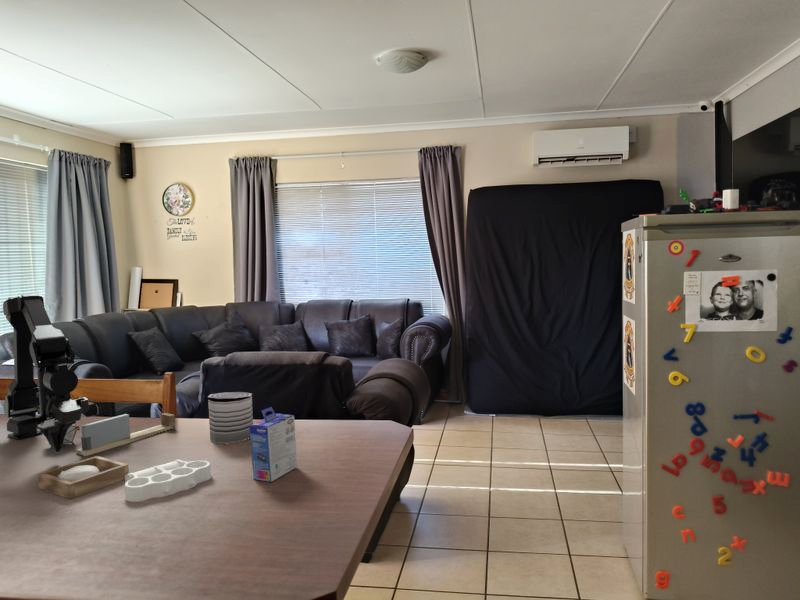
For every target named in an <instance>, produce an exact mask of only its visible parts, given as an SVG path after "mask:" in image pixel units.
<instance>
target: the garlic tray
mask: <svg viewBox="0 0 800 600" xmlns="http://www.w3.org/2000/svg"><path fill="white" fill-rule="evenodd" d="M84 465H90V466H95V467H97V468H98V469H99V473H97V474H94V475H91V476H88V477H85V478H82V479H79V480H76V481H73V482H69V481H66V480H63V479H60V478H58V475H60V473H61V472H62V471H66V470H68V469H71V468H73V467H76V466H84ZM129 468H130V467H129V464H128V463H125V462H122V461H121V462H120V461H117V460H114V459H110V458H107V457H103V456H99V455H95V456H92V457H91V456H90V457H89V458H86V459H82V460H79V461H76V462H73V463H70V464H65V465H64V466H60V467H57V468H53V469H50V470H48V471H44V472H41V473H39V474H37V478H38V479H37V481H38V488H39V489H41V490H44V491H47V492H49V493H52V494H54V493H55V495H58V496H60V497H63V498H66V499H69V500H72V499H74V498H77V497H80V496H82V495H86V494H88V493H91V492H93V491H96V490H99V489H102V488H105V487H107V486H110V485H113V484H117V483H119V482H121V481H123V480H124V481H125V475H127V474H128V473H130V471H129V470H130V469H129Z"/></svg>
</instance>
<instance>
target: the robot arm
mask: <svg viewBox="0 0 800 600" xmlns="http://www.w3.org/2000/svg"><path fill="white" fill-rule="evenodd" d="M2 310H3V314H4V316H5V318H6V319H5V320H7V322H8V323H9V324H10V325H11V327H12V328H13V329H12V330H13V364H14V365H13V372H14V374H13V375H14V378H13V380H12V381H11V383H10V384H9V385H8V387H7V395H5V398H4V403H3V413H4V416H5V417H6V418H8V421H7V423H6V430H7V432H9V433H8V434H7V437H9V438H12V439H16V440H22V439H26V438H29V437H34V436H37V435H41V434H42V435H44V437H45V439H46V440H47V442H48V443H49V445H50V448H51V447H52V449H51V450H53V452H54V453H59V452H61V449H62V446H63V445H64V444H63V441H64V438H65V435H66V432H67V430H68V428H69V427H70V426H71V425H72V424H75V425H76V423H77V421H81V420H82V419H81V418H82V415H83V416H85V417H86V418H90V417H93V416H97V415H98V416H99V414H100V413H99V406H98V405H97V404H96V403H94V402H90V401H89V399H88V398H87V397H86V396H83V397H79V398H77V399H73V397H72V396H71V395H72V394H71V393H73V391H74V390H75V389H76V388H77V386H78V384H79V378H78V375H77V374H76V372H74V370H71V369H70V368H69V366H68V365H73V364H75V358H76V355H75V352H74V350H73V346H72V344H71V342H70V341H69V339H68V338H66V336H65V335H64V333H63V331H62V330H61V329H58V328H56V327H54V325H53V323H52V321H51V320H50V317H49V314H48V312H47V310H46V307H45V303H44V297H43V296H42V294H39V293H36V294H35V293H34V294H32V293H31V294H21V295H19V296H13V297H8V299H6V300H5V301H3V304H2ZM35 368H36V369H37V372H36V373H37V382H36V380H35V378H34V377H35V376H34V373H35V372H34V369H35ZM37 415H38V416H37ZM50 417H52V418H50Z"/></svg>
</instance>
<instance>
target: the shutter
mask: <svg viewBox="0 0 800 600" xmlns="http://www.w3.org/2000/svg"><path fill="white" fill-rule="evenodd" d="M80 427H81V437H80V439H81V448H82V449H85V450H90V449H91V448H94V447H98V446H101V445H104V444H108V443H111V442H114V441H118V440H121V439H124V438H128V437H130V434H131V426H130V414H127V413H124V414H119V415H116V416H112V417H109V418H105V419H101V420H98V421H93V422H90V423H89V422H88V423H86V424H82V425H81V426H80Z"/></svg>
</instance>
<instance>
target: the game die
mask: <svg viewBox="0 0 800 600" xmlns="http://www.w3.org/2000/svg"><path fill="white" fill-rule="evenodd" d="M50 418H52V417H50ZM80 430H81V428H80V426H79V425H76V423H75V424H72V425H71V426H70V427H69V428H68V430H67V432H66V435H65V438H64V441H63V444H62V445H68V444H71V445H72V446H75V443H74V440H75V437H76V434H77V431H80ZM51 448H52V447H51V446H50V449H51Z"/></svg>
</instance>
